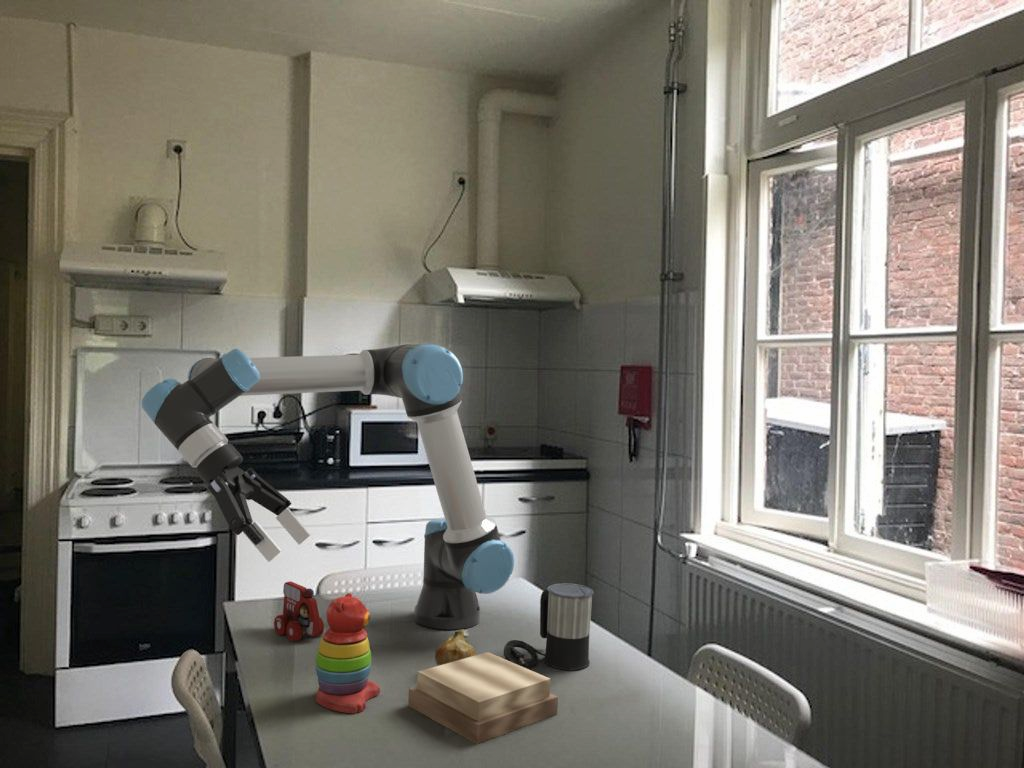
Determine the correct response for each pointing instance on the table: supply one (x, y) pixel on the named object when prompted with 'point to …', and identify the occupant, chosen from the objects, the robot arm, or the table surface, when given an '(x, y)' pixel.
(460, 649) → the onion
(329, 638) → the stacking bear
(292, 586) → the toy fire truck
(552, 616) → the milk frother
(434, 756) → the table surface
